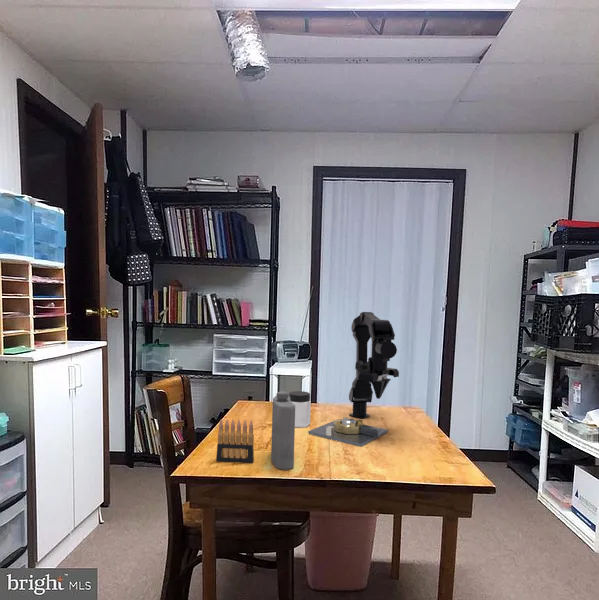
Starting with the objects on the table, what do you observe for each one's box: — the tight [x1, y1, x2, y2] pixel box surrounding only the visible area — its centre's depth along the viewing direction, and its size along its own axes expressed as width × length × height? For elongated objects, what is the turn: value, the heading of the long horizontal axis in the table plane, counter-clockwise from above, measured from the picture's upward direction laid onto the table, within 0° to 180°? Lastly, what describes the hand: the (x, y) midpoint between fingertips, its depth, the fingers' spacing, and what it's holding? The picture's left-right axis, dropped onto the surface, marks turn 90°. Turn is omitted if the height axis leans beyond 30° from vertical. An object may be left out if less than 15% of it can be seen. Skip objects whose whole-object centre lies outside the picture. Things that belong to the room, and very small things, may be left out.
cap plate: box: [307, 417, 389, 448], centre depth 155 cm, size 21×21×5 cm
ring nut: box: [333, 416, 381, 438], centre depth 153 cm, size 17×10×3 cm, turn 55°
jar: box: [288, 390, 312, 428], centre depth 164 cm, size 9×8×12 cm
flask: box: [270, 390, 296, 471], centre depth 126 cm, size 15×6×20 cm, turn 9°
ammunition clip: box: [215, 419, 255, 464], centre depth 124 cm, size 11×2×12 cm, turn 88°
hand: (378, 398), depth 154 cm, fingers closed
